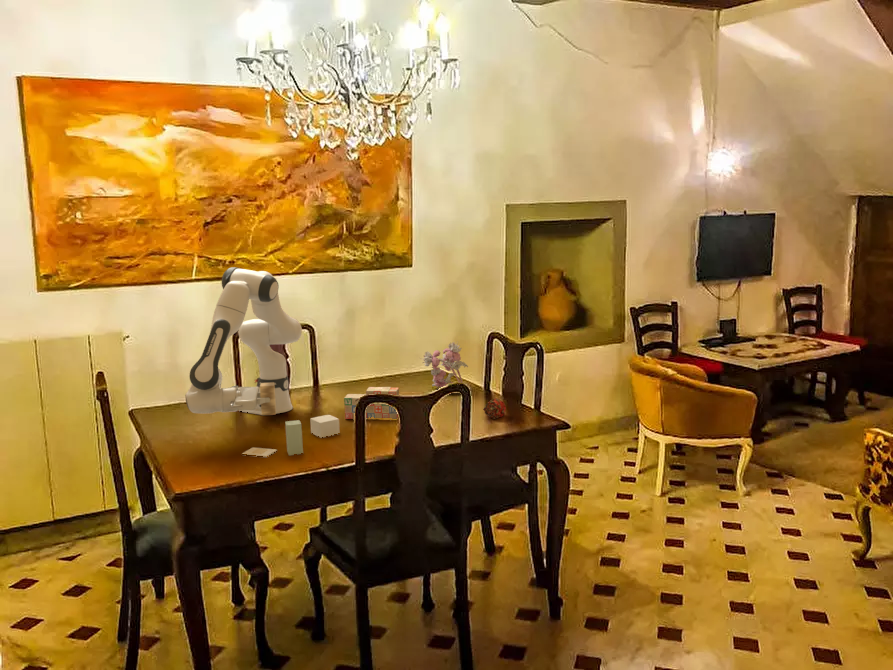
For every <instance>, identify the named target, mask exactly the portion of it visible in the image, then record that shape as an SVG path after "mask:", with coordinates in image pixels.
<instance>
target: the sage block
mask: <svg viewBox="0 0 893 670" xmlns="http://www.w3.org/2000/svg"><path fill="white" fill-rule="evenodd" d="M285 437H286V438H285V439H286V440H285V441H286V452H287V454H288V456H294V454H297V455H302V454H301V453H303V454H304V448H303V446H304V445H303V429H302V423H301V421H300V420H299V419H298V420H297V419H296V420H289V421H288V420H287V421H285Z"/></svg>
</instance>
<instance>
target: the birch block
mask: <svg viewBox="0 0 893 670" xmlns="http://www.w3.org/2000/svg"><path fill="white" fill-rule="evenodd" d="M260 397H261V398H265V397H270V402H268V403H263V404H261V412H262V415H261V416H273V415H275V416H276V414H277V413H276V400H275V385H274V382H271V383H260Z"/></svg>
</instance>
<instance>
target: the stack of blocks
mask: <svg viewBox="0 0 893 670" xmlns="http://www.w3.org/2000/svg"><path fill="white" fill-rule="evenodd" d="M369 394H392V395H399V396H400V387H392V386H377V387H376V386H368V388H367V389H366V391H365V394H364V393H363V394H362V393H348V394H346V395H345V396H344V397H343V402H344V403H343V404H344V419H353V420H352V421H355V420H354V413H355V407H356V404H357V402H358V400H359V398H360V397H362V396H364V395H369ZM369 417H370V418H371V417H374V418H392V419H397V418H398V414H397V412H396V410H395V409H394V408H393V407H391V406H389V405H386V404H371V405H370V406H368V407H367V409H366V418H369ZM398 419H399V418H398Z"/></svg>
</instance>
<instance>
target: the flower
mask: <svg viewBox="0 0 893 670" xmlns="http://www.w3.org/2000/svg"><path fill="white" fill-rule="evenodd" d="M458 344H459V341H457V342H456V343H455V341H453V342H450V343H449V344H448V345H447V348H444V349H443V350H442V353H443V354H442V355H441V352H440V350H438V349H437V350H434V351H433V353H431V352H430V351H425V352H424V355H423V358H421V357H419V359H420V360H422V364H424V365H423V366H425V367H429V366H430V365H431V366H432V367H431V368H432V369H431V370H430V374H431V375H432V376H433V377H432V378H433V379H432V380H431V381H432V382H433V383H432V384H431V386H432V387H436V388H437V387H438V388H437V389H439V387H443V386H447V385H448V384H452V383H454V382H453V381H452V379H451V378H452V377H455V378H456V380H457V382H458V384H459V383H463V379H462V375H461V373H460V371H459V369H460V368H461V367H462V366H463V368H466V367H467V368H468V367H469V365H468V364H466V363H465V362H464V361H462V360H461V359H462V357H461V354H460V353H459V352H461V350H462V349H463V348H462V347H460V346H461V345H460V344H459V345H458ZM440 355H441V356H442V357H440V358H438V357H439V356H440ZM423 361H424V362H423ZM440 363H441V364H440ZM439 365H440V366H442V367H444V368H445V370H444V369H441V368H440V366H439ZM446 371H447V372H450V371H452V372H450V373H449V374H448V375H447V372H446ZM446 375H447V376H446Z"/></svg>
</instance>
